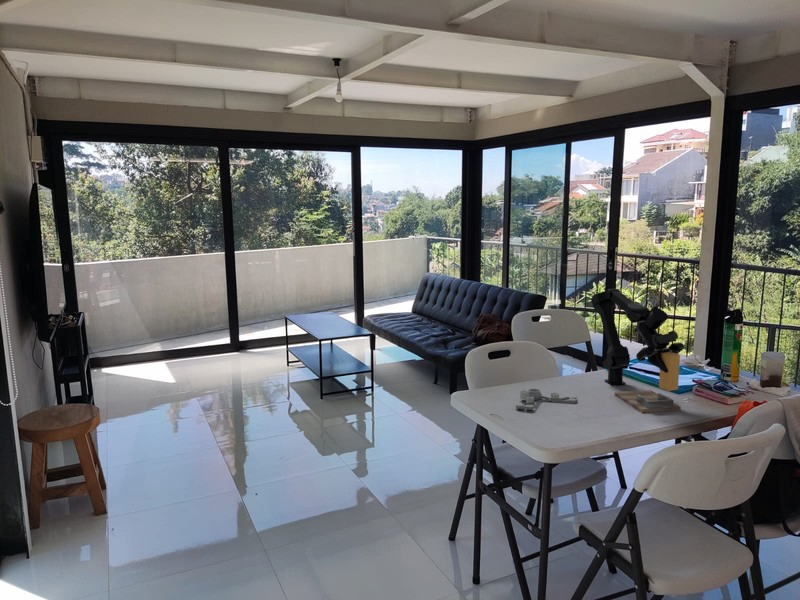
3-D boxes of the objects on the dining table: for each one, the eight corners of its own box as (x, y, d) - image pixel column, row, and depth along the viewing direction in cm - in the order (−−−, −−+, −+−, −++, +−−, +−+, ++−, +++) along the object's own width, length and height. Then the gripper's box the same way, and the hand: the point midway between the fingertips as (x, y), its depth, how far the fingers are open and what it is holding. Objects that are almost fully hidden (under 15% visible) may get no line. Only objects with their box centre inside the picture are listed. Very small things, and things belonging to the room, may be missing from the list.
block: (659, 387, 218) (660, 353, 215) (668, 385, 219) (670, 352, 217) (668, 391, 213) (670, 356, 211) (677, 389, 215) (680, 354, 213)
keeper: (614, 395, 230) (614, 386, 230) (650, 392, 232) (650, 383, 232) (641, 412, 211) (642, 402, 210) (680, 409, 213) (681, 399, 212)
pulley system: (500, 403, 227) (523, 413, 213) (500, 391, 227) (523, 401, 213) (557, 395, 238) (583, 404, 224) (558, 384, 237) (583, 392, 224)
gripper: (643, 326, 213) (666, 363, 204) (682, 321, 219) (705, 356, 211) (626, 343, 221) (647, 379, 213) (664, 337, 228) (686, 372, 220)
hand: (672, 371), depth 214 cm, fingers closed on block, 4 cm apart
